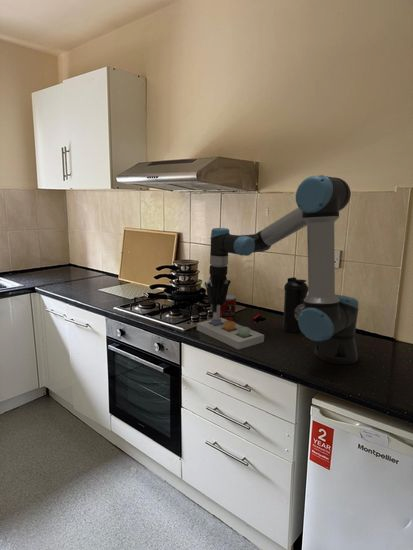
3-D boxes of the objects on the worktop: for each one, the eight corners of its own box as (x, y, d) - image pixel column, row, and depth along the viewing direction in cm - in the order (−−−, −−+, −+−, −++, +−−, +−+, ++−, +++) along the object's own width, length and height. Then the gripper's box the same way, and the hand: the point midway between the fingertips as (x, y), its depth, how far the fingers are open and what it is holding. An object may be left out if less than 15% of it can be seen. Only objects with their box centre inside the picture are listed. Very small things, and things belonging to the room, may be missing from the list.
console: (263, 341, 156) (264, 334, 155) (238, 349, 147) (238, 342, 147) (221, 324, 176) (221, 317, 175) (196, 329, 167) (196, 323, 166)
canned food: (221, 322, 178) (222, 299, 176) (216, 316, 186) (217, 294, 184) (237, 321, 180) (238, 298, 178) (231, 316, 188) (232, 294, 186)
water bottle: (292, 335, 165) (297, 282, 160) (276, 327, 173) (280, 277, 169) (309, 331, 171) (314, 280, 166) (292, 324, 179) (296, 275, 174)
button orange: (236, 331, 161) (237, 322, 160) (228, 333, 158) (229, 324, 157) (229, 328, 164) (230, 320, 163) (221, 330, 161) (222, 321, 161)
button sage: (251, 337, 154) (252, 328, 154) (243, 339, 152) (244, 330, 151) (243, 334, 158) (244, 325, 157) (235, 336, 155) (236, 327, 154)
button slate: (223, 328, 167) (223, 320, 167) (215, 330, 165) (215, 321, 164) (216, 325, 171) (216, 317, 170) (208, 327, 168) (209, 319, 167)
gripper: (224, 262, 169) (221, 314, 174) (200, 265, 161) (198, 319, 166) (236, 265, 163) (233, 318, 168) (212, 268, 155) (210, 324, 160)
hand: (216, 319), depth 167 cm, fingers closed
